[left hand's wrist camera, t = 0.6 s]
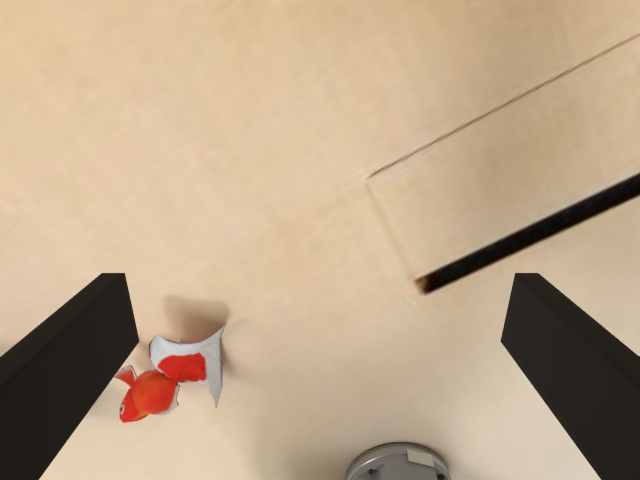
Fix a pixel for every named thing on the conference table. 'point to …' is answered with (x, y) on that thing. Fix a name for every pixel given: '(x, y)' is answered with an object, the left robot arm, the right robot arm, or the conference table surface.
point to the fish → (171, 376)
